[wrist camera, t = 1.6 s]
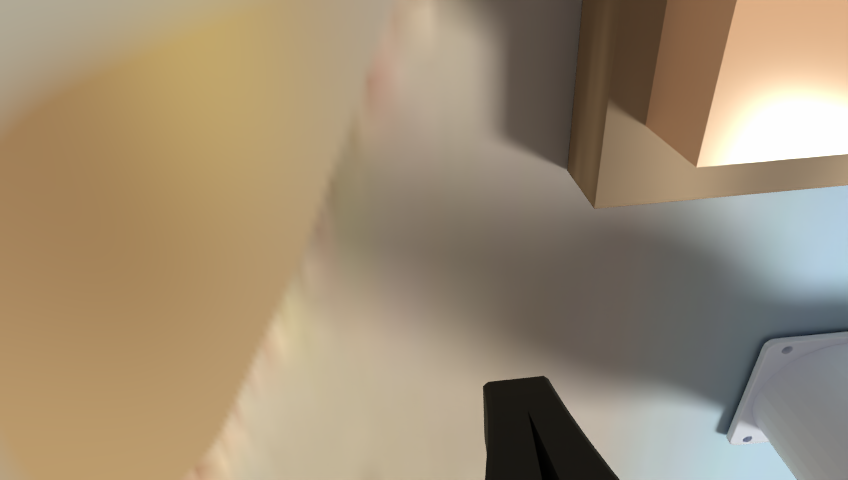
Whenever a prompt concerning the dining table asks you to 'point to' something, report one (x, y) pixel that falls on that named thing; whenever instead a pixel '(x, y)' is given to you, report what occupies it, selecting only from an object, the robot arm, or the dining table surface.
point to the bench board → (635, 143)
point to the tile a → (752, 80)
